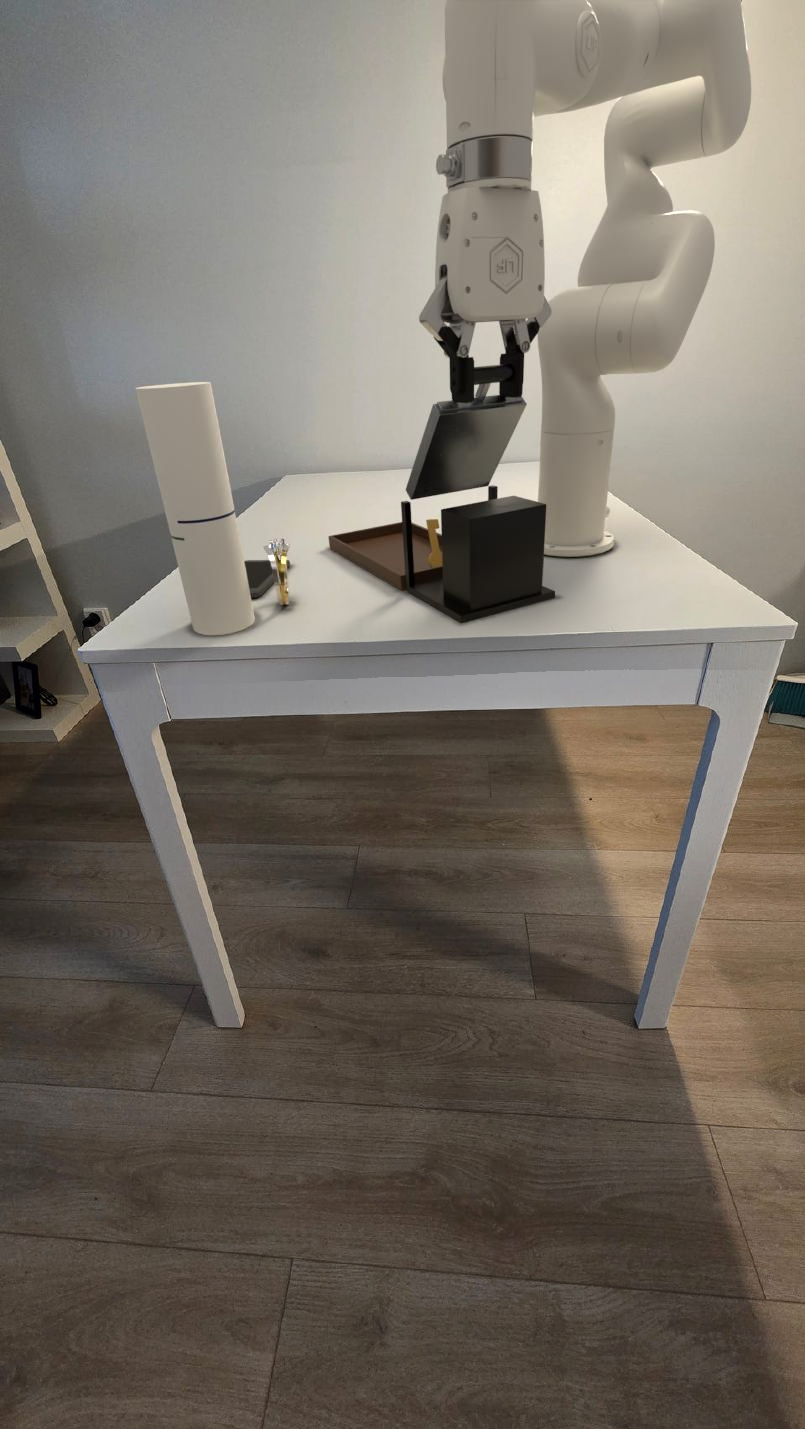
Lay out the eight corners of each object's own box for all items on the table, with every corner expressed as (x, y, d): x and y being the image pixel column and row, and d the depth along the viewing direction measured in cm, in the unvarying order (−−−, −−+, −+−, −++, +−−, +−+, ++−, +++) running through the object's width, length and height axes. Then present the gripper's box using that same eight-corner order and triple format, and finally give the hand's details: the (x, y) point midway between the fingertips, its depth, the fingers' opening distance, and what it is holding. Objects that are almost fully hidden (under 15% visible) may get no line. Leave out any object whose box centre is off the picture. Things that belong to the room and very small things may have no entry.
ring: (295, 613, 77) (285, 547, 73) (268, 615, 77) (257, 549, 73) (301, 593, 83) (291, 531, 79) (276, 595, 83) (265, 533, 79)
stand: (405, 590, 81) (400, 501, 76) (492, 570, 86) (493, 485, 81) (461, 623, 71) (459, 523, 66) (555, 597, 76) (561, 502, 71)
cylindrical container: (239, 636, 72) (189, 386, 59) (181, 634, 73) (120, 390, 61) (264, 612, 78) (223, 380, 65) (210, 611, 79) (159, 384, 67)
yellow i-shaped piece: (432, 572, 85) (430, 573, 85) (449, 570, 86) (447, 571, 86) (421, 519, 84) (420, 520, 85) (439, 518, 86) (437, 519, 86)
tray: (329, 548, 100) (328, 536, 99) (408, 532, 105) (407, 520, 104) (401, 590, 82) (400, 576, 81) (492, 568, 87) (492, 554, 86)
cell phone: (205, 598, 83) (204, 592, 83) (244, 564, 95) (243, 559, 94) (259, 598, 82) (258, 592, 81) (292, 564, 94) (291, 559, 93)
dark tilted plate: (410, 500, 76) (403, 486, 76) (488, 486, 80) (480, 473, 81) (450, 382, 62) (441, 366, 63) (541, 372, 66) (531, 358, 67)
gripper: (428, 159, 51) (435, 409, 60) (591, 169, 58) (575, 393, 67) (385, 180, 57) (397, 405, 66) (538, 187, 64) (529, 391, 73)
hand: (487, 397), depth 66 cm, fingers closed on dark tilted plate, 5 cm apart
